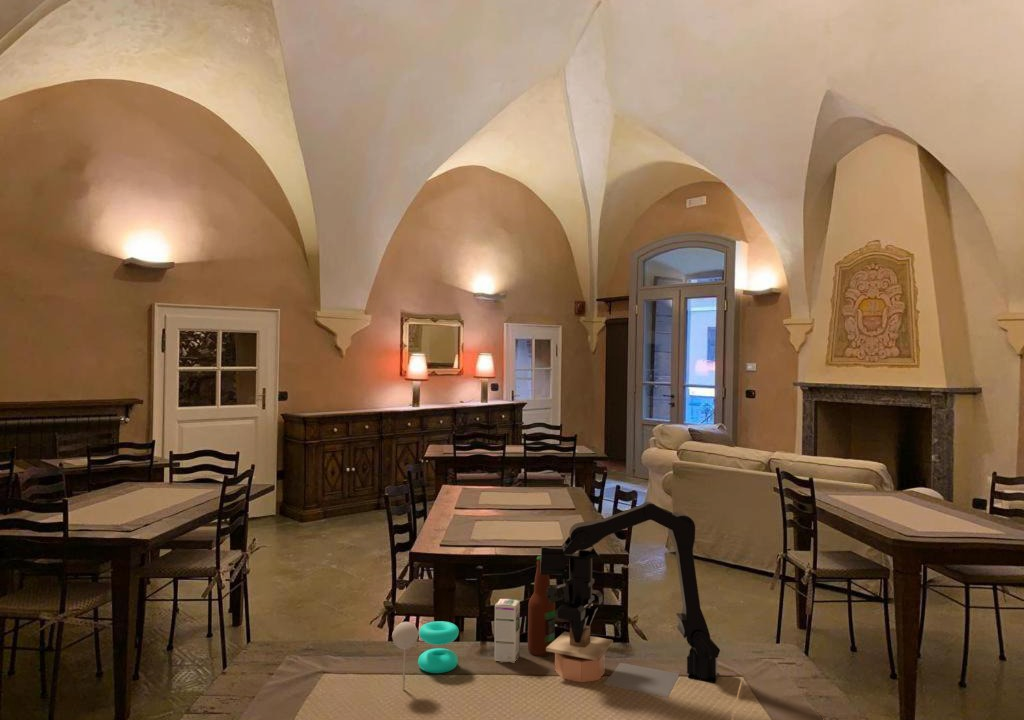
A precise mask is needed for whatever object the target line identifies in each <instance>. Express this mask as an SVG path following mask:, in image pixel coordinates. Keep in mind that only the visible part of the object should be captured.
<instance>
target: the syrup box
mask: <svg viewBox="0 0 1024 720" xmlns="http://www.w3.org/2000/svg"><path fill="white" fill-rule="evenodd" d="M520 602H521V600H519V599H515V598H514V599H513V598H499V600H498V601H497V602H496V603H495V605H494V633H493V634H494V638H493V639H494V641H493V642H494V647H493V648H494V649H493V650H494V656H493V657H494V658H493V660H494V662H496V661H516V659H517V658H518V659H519V657H520V655H521V653H520V652H521V650H520V649H521V647H520V646H521V644H520V643H521V642H520V641H521V639H520V638H521V636H520V635H521V620H520V617H521V614H520V613H521V610H520V609H521V603H520ZM518 659H517V660H518ZM516 662H517V661H516Z"/></svg>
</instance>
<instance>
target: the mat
mask: <svg viewBox="0 0 1024 720" xmlns="http://www.w3.org/2000/svg"><path fill="white" fill-rule="evenodd" d="M614 670H615V671H614ZM614 670H613V672H612V673H611V674H612V675H611V674H610V676H609V677H608V678H607V679H606V681H605V682H604V683H603V686H608V687H613V688H619V689H623V690H628V691H633V692H636V693H637V692H638V693H643V694H647V695H651V696H652V695H653V696H658V697H662V698H667V699H668V698H669V697H670V693H671V691H672V690H673V688H674V686H675V684H676V682H677V680H678V678H679V676H680V673H678V672H673V671H668V670H667V671H666V670H662V669H657V668H651V667H645V666H642V665H641V666H640V665H635V664H629V663H625V662H624V663H623V662H619V664H618V665H617V667H616V668H614Z"/></svg>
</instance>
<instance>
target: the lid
mask: <svg viewBox="0 0 1024 720" xmlns="http://www.w3.org/2000/svg"><path fill="white" fill-rule="evenodd" d="M613 643H614V640H613V639H610V638H603V637H599V636H591V625H590V626H587V625H585V628H584V631H583V634H582V637H581V640H580V642H579V643H577V642H575V640H574V636H573V633H572V629H571V627H569V632H567V631H563V632H562V633H561V634H560V635H559V636H557V638H555V640H554V641H553V642H552V643H551V644H550V645H549V646H547V647H546V651H549V652H553V654H555V653H559V654H565V655H570V656H575V657H581V658H586V659H591V660H598V659H599V658H600V657H601V656H602V655H603V654H604V653H605V652H606V651H607V650H608V649H609V648H610V647H611V645H613ZM605 654H606V653H605Z"/></svg>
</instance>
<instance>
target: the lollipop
mask: <svg viewBox="0 0 1024 720" xmlns="http://www.w3.org/2000/svg"><path fill="white" fill-rule="evenodd" d="M419 637H420V636H419V629H418V628H417V627H416V625H415V624H414V623H412V622H409V621H402V622H400V623H399V624H397V625H396V626H395V627H394V629H393V631H392V635H391V638H392V641H393V643H394V645H395V647H396V648H398V649H401V650H403V665H402V669H403V670H402V691H405V690H406V689H405V687H406V686H405V685H406V682H405V681H406V658H407V650H409V649H411V648H412V647H414V646H415V645H416V643H417V642H418V638H419Z"/></svg>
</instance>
